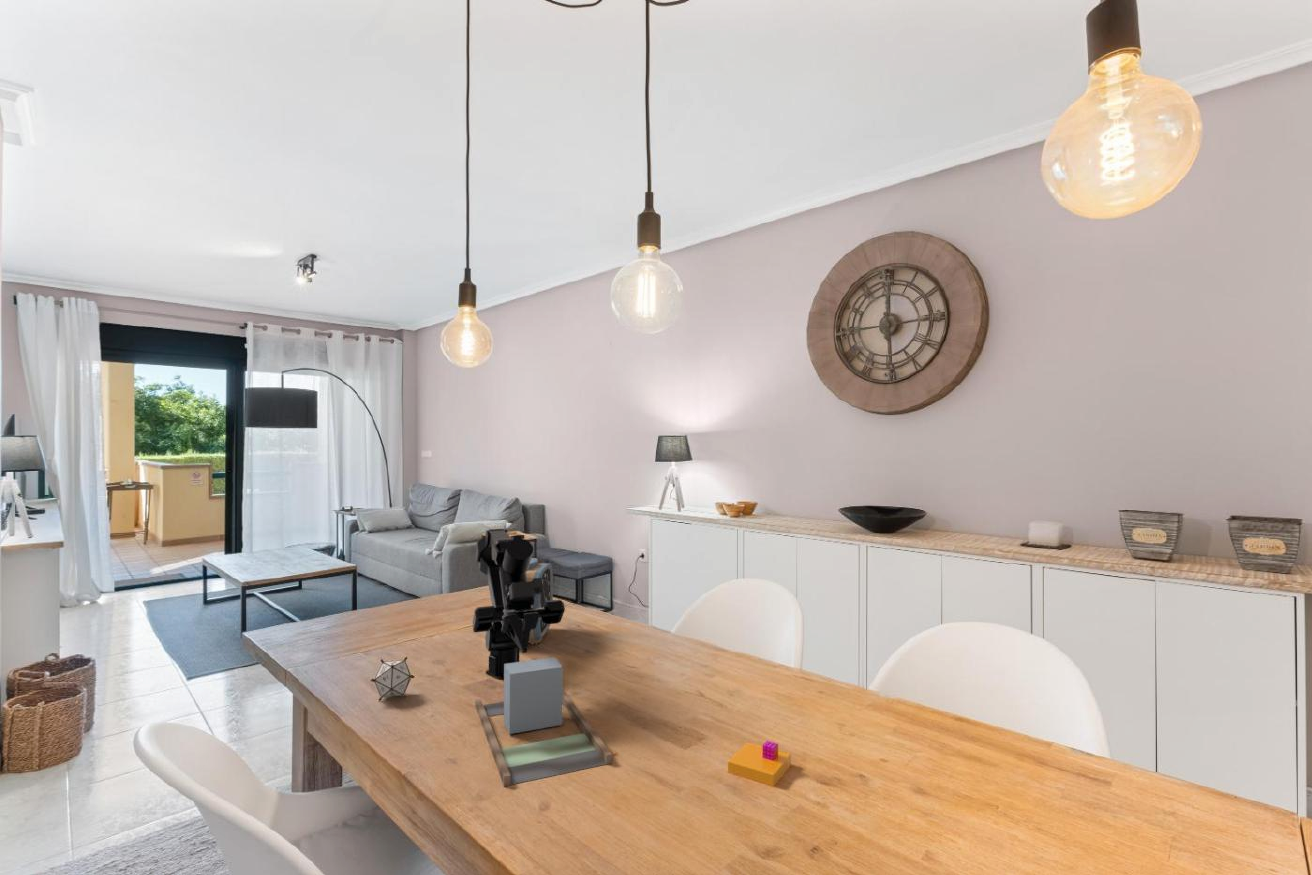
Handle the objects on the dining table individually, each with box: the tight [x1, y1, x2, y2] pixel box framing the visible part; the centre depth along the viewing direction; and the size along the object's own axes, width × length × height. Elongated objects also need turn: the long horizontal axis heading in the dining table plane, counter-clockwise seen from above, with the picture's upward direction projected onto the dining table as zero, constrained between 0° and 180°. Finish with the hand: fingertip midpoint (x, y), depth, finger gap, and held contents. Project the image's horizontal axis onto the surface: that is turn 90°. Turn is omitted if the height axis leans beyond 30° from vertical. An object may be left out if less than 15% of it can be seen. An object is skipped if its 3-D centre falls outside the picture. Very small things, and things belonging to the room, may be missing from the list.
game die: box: [369, 656, 416, 702], centre depth 131 cm, size 9×8×10 cm
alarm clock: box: [522, 557, 554, 644], centre depth 174 cm, size 21×10×22 cm, turn 179°
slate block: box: [503, 656, 564, 735], centre depth 119 cm, size 6×10×11 cm, turn 114°
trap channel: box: [474, 687, 613, 787], centre depth 115 cm, size 33×18×2 cm, turn 24°
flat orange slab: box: [727, 740, 792, 787], centre depth 102 cm, size 8×8×4 cm
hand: (524, 652), depth 126 cm, fingers closed
